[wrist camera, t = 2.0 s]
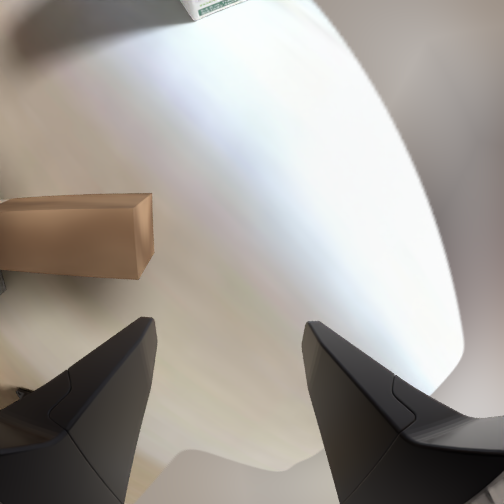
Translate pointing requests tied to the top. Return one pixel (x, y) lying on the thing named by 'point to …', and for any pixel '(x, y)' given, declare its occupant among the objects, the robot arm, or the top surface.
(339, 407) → the robot arm
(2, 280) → the grey u-shaped block
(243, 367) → the top surface
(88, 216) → the plug rod
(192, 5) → the syrup box
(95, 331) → the top surface
